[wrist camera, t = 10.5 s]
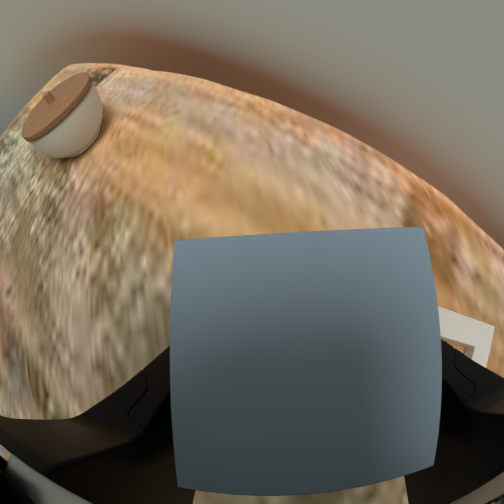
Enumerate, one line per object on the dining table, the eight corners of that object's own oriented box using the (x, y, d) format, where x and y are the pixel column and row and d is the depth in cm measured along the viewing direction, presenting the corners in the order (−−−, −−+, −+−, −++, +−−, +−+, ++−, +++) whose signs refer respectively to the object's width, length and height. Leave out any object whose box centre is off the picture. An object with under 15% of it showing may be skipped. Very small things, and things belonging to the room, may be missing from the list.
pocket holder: (453, 434, 15) (461, 437, 14) (362, 421, 18) (366, 425, 16) (485, 328, 18) (494, 326, 17) (403, 299, 21) (410, 296, 19)
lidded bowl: (72, 183, 30) (24, 135, 20) (44, 161, 33) (7, 123, 23) (130, 116, 33) (97, 61, 22) (92, 107, 36) (63, 64, 26)
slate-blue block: (333, 389, 14) (433, 465, 3) (250, 394, 15) (177, 486, 3) (330, 310, 16) (422, 226, 5) (249, 314, 16) (175, 240, 5)
